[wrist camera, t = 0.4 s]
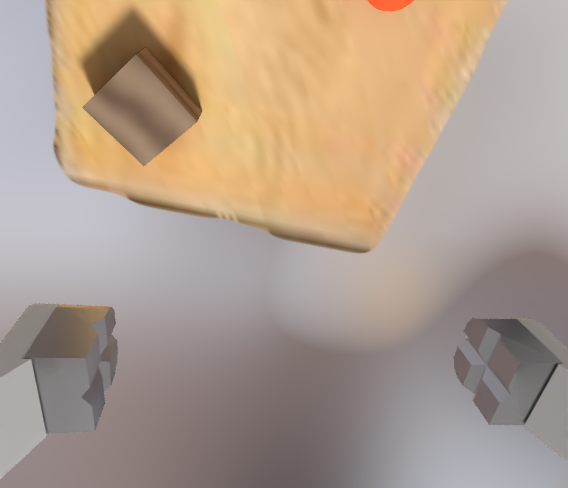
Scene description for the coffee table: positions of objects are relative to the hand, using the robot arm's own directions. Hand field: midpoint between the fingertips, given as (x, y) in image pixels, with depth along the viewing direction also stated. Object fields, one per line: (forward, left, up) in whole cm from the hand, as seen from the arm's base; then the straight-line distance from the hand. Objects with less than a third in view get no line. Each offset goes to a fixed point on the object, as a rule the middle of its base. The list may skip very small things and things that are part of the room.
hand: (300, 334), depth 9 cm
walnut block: (+20, -3, -49) cm, 53 cm away
